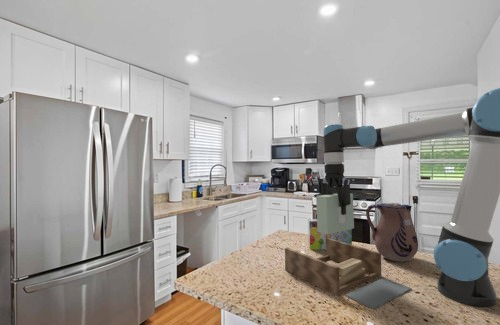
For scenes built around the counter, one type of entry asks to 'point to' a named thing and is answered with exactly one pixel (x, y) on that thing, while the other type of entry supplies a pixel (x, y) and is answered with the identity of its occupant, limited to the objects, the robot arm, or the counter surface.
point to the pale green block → (333, 214)
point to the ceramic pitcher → (394, 231)
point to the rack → (328, 273)
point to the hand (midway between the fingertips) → (336, 221)
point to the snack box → (325, 236)
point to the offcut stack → (350, 271)
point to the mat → (378, 293)
